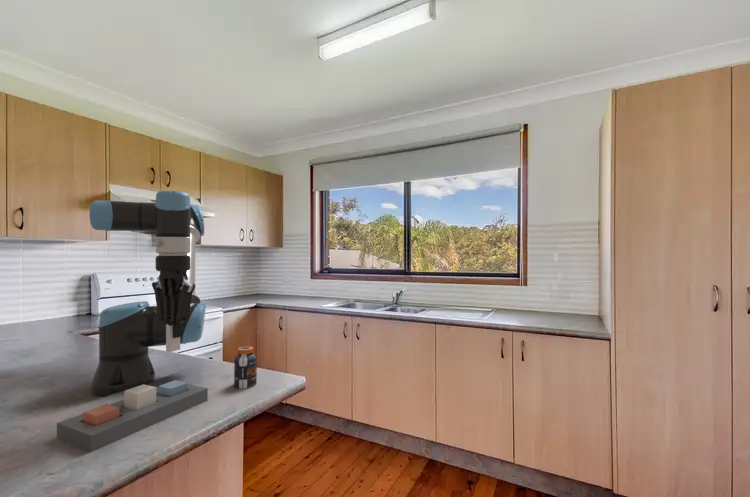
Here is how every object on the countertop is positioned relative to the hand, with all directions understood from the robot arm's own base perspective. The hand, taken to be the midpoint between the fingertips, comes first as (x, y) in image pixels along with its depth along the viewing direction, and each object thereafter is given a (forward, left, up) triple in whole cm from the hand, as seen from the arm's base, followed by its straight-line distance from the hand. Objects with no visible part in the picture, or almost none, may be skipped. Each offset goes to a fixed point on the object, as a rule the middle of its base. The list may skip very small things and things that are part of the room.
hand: (173, 350), depth 91 cm
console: (0, -8, -14) cm, 16 cm away
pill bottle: (+7, +17, -14) cm, 23 cm away
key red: (0, -16, -12) cm, 20 cm away
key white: (0, -8, -11) cm, 14 cm away
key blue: (0, 0, -12) cm, 12 cm away
